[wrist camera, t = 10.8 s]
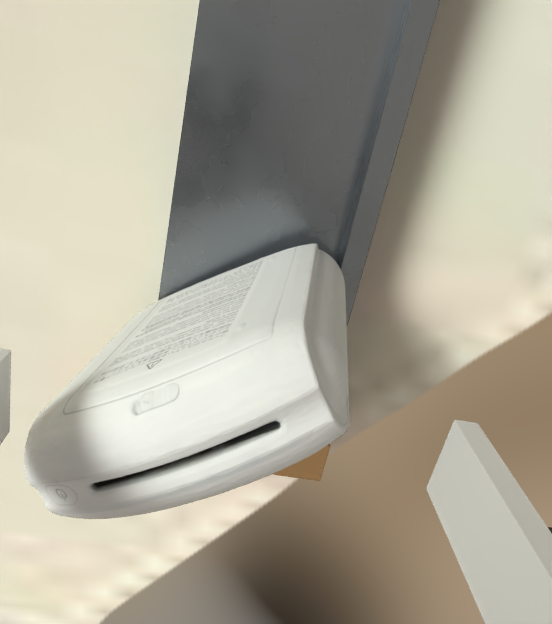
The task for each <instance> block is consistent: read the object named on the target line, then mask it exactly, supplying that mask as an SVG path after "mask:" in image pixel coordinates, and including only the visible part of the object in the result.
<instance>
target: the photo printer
mask: <svg viewBox="0 0 552 624" xmlns="http://www.w3.org/2000/svg"><path fill="white" fill-rule="evenodd" d="M349 422H350V417H349V382H348V354H347V325H346V297H345V282H344V277H343V273H342V271H341V269H340V267H339V265H338V264H337V263H336V261H335V260H334V259H333V258H332V257H331V256H330V255H328V254H327V253H326V252H324V251H322V250H319V248H318V244H307V245H301V246H297V247H293V248H289V249H286V250H283V251H280V252H277V253H274V254H271V255H269V256H266V257H262V258H260V259H258V260H255V261H253V262H250V263H248V264H245V265H242V266H240V267H237V268H235V269H232V270H230V271H227V272H224V273H222V274H219V275H217V276H214V277H212V278H209V279H207V280H205V281H202V282H199V283H197V284H195V285H192V286H190V287H188V288H185V289H183V290H181V291H178V292H176V293H174V294H172V295H169V296H167V297H165V298H163V299H161V300H159V301H157V302H155V303H153V304H151V305H150V306H148V307H146V308H145V309H144V310H142V311H141V312H139V313H138V314H137V315H136V316H134V317H133V318H132V319H131V320H130V321H129V322H128V324H127V325H126V326H125V327H124V328H123V329H122V330H121V331H120V332H119V333H118V334H117V335H116V336H115V337H114V338H113V339H112V340H111V341H110V342H109V343H108V344H107V345H106V346H105V347H104V348H103V349H102V350H101V351H100V353H99V354H98V355H97V356H96V357H95V358H94V359H93V360H92V361H91V362H90V363H89V364H88V365H87V366H86V367H85V368H84V369H83V370H82V371H81V372H80V373H79V374H78V375H77V376H76V377H75V378H74V379H73V380H72V381H71V382H70V383H69V384H68V385H67V386H66V387H65V388H64V389H63V390H62V391H61V392H60V393H59V394H58V395H57V396H56V397H55V398H54V399H53V400H52V401H51V402H50V403H49V404H48V405H47V406H46V407H45V408H44V410H43V411H42V412H41V413H40V414H39V415H38V416H37V418H36V419H35V421H34V422H33V424H32V426H31V429H30V431H29V434H28V438H27V442H26V445H25V456H24V465H25V475H26V479H27V481H28V483H29V484H30V485H31V486H33V487H34V488H35V489H36V490H37V491H38V492H39V493H40V494H41V496H42V498H43V500H44V502H45V505H46V508H47V509H48V510H49V511H51V512H52V513H54V514H57V515H60V516H67V517H72V518H83V519H108V518H119V517H126V516H133V515H140V514H145V513H151V512H155V511H160V510H164V509H169V508H173V507H177V506H180V505H184V504H187V503H191V502H194V501H197V500H201V499H205V498H208V497H212V496H215V495H218V494H221V493H224V492H226V491H229V490H232V489H235V488H237V487H240V486H243V485H246V484H249V483H251V482H254V481H256V480H259V479H261V478H264V477H266V476H269V475H271V474H273V473H276V472H278V471H280V470H282V469H284V468H286V467H288V466H291V465H293V464H295V463H297V462H299V461H301V460H303V459H305V458H307V457H309V456H311V455H312V454H314V453H316V452H318V451H319V450H321V449H322V448H324V447H325V446H327V445H328V444H330V443H331V442H333V441H334V440H335V439H337V438H338V437H340V436H341V435H342V434H344V433H345V432H346V431H347V429H348V428H349Z"/></svg>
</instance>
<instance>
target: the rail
mask: <svg viewBox="0 0 552 624" xmlns="http://www.w3.org/2000/svg"><path fill="white" fill-rule="evenodd" d="M439 1H440V0H200V2H199V9H198V17H197V24H196V31H195V38H194V46H193V53H192V60H191V67H190V74H189V82H188V89H187V96H186V103H185V111H184V118H183V125H182V132H181V140H180V147H179V154H178V161H177V169H176V176H175V183H174V190H173V198H172V205H171V212H170V219H169V227H168V234H167V241H166V248H165V256H164V263H163V270H162V277H161V285H160V292H159V299H158V301H159V300H161V299H163V298H165V297H167V296H169V295H172V294H174V293H176V292H178V291H181V290H183V289H185V288H188V287H190V286H192V285H195V284H197V283H199V282H202V281H205V280H207V279H209V278H212V277H214V276H217V275H219V274H222V273H224V272H227V271H230V270H232V269H235V268H237V267H240V266H242V265H245V264H248V263H250V262H253V261H255V260H258V259H260V258H262V257H266V256H269V255H271V254H274V253H277V252H280V251H283V250H286V249H289V248H293V247H297V246H301V245H307V244H318V248H319V250H322V251H324V252H326V253H327V254H328V255H330V256H331V257H332V258H333V259H334V260H335V261H336V263H337V264H338V265H339V267H340V269H341V271H342V273H343V277H344V282H345V297H346V325H347V324H348V321H349V317H350V314H351V310H352V307H353V303H354V300H355V296H356V293H357V289H358V286H359V282H360V279H361V275H362V272H363V268H364V265H365V261H366V258H367V254H368V251H369V247H370V244H371V240H372V237H373V233H374V230H375V226H376V223H377V219H378V215H379V212H380V208H381V205H382V201H383V198H384V194H385V191H386V187H387V184H388V180H389V177H390V173H391V170H392V166H393V163H394V159H395V156H396V152H397V149H398V145H399V142H400V138H401V135H402V131H403V128H404V124H405V121H406V117H407V114H408V110H409V106H410V103H411V99H412V96H413V92H414V89H415V85H416V82H417V78H418V75H419V71H420V68H421V64H422V61H423V57H424V54H425V50H426V47H427V43H428V40H429V36H430V33H431V29H432V26H433V22H434V19H435V15H436V12H437V8H438V5H439ZM329 449H330V444H328V445H327V446H325V447H324V448H322V449H321V450H319V451H318V452H316V453H314V454H312V455H311V456H309V457H307V458H305V459H303V460H301V461H299V462H297V463H295V464H293V465H291V466H288V467H286V468H284V469H282V470H280V471H278V472H276V473H273V475H281V476H288V477H295V478H302V479H309V480H316V481H320V479H321V476H322V472H323V469H324V465H325V462H326V459H327V456H328V452H329Z"/></svg>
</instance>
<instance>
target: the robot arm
mask: <svg viewBox="0 0 552 624" xmlns="http://www.w3.org/2000/svg"><path fill="white" fill-rule="evenodd" d="M10 375H11V350H7V349H0V444H1V443H2V442H3V440H4V439H5V437H6V436H7V434H8V433H9V427H10ZM426 490H427V492H428V494H429V496H430V498H431V501H432V503H433V506H434V508H435V510H436V512H437V515H438V517H439V519H440V522H441V524H442V526H443V528H444V531H445V533H446V535H447V538H448V540H449V542H450V544H451V547H452V549H453V551H454V554H455V556H456V558H457V560H458V562H459V565H460V567H461V569H462V572H463V574H464V576H465V579H466V581H467V583H468V586H469V588H470V590H471V592H472V595H473V597H474V599H475V602H476V604H477V606H478V608H479V611H480V613H481V615H482V617H483V620H484V622H485V624H552V528H550V527H547V526H546V524H545V523H544V521H543V520H542V519H541V517H540V516H539V514H538V512H537V511H536V509H535V508H534V507H533V505H532V503H531V502H530V501H529V499H528V498H527V496H526V495H525V493H524V492H523V490H522V489H521V487H520V486H519V484H518V483H517V481H516V480H515V478H514V477H513V475H512V474H511V472H510V471H509V469H508V468H507V466H506V465H505V463H504V462H503V460H502V459H501V457H500V456H499V454H498V453H497V451H496V450H495V448H494V447H493V445H492V444H491V443H490V441H489V439H488V438H487V436H486V435H485V433H484V432H483V431H482V429H481V427H480V426H479V425H478V423H474V422H467V421H461V420H454V422H453V424H452V427H451V429H450V432H449V434H448V436H447V439H446V441H445V444H444V447H443V449H442V451H441V454H440V456H439V458H438V461H437V463H436V466H435V468H434V471H433V473H432V475H431V478H430V480H429V483H428V485H427V488H426Z"/></svg>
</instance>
